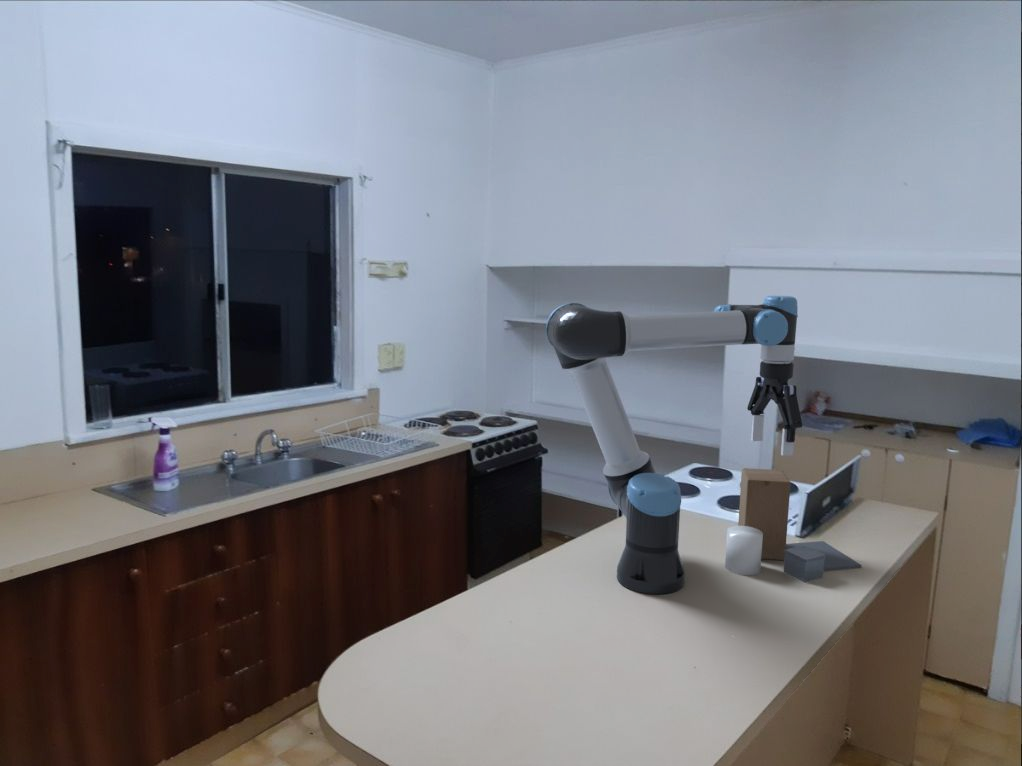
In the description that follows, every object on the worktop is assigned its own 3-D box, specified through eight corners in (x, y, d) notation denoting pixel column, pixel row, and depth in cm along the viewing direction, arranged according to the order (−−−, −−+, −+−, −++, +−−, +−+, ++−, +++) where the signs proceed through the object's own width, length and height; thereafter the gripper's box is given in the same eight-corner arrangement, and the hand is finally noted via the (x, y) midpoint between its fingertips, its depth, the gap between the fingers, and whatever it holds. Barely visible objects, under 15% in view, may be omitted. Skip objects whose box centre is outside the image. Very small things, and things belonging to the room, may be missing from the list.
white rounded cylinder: (735, 576, 170) (737, 539, 168) (718, 562, 177) (721, 526, 176) (767, 573, 171) (769, 537, 170) (749, 559, 179) (751, 524, 177)
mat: (816, 571, 173) (816, 568, 173) (780, 546, 187) (780, 544, 187) (861, 567, 175) (861, 564, 175) (822, 543, 190) (823, 540, 189)
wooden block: (785, 561, 178) (791, 481, 175) (742, 558, 180) (747, 479, 176) (777, 545, 188) (783, 469, 185) (736, 542, 190) (741, 467, 186)
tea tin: (804, 583, 167) (806, 559, 166) (782, 572, 172) (784, 549, 171) (824, 577, 170) (826, 554, 169) (801, 567, 175) (803, 545, 174)
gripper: (823, 368, 164) (815, 460, 168) (763, 353, 188) (758, 434, 192) (792, 369, 163) (786, 462, 167) (736, 354, 187) (732, 435, 191)
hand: (771, 447), depth 179 cm, fingers open, 13 cm apart
